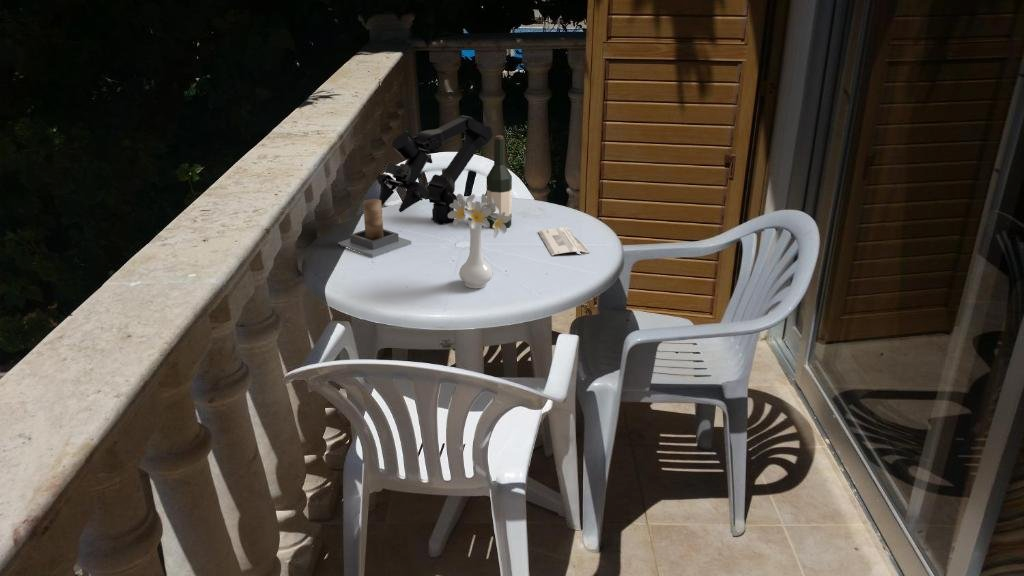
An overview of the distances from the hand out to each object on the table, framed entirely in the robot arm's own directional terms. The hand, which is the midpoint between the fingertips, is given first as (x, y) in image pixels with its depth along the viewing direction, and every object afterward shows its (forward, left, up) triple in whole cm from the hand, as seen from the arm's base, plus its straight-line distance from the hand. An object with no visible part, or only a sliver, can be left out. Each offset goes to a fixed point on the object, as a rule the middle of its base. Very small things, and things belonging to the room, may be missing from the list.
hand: (389, 208), depth 254 cm
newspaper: (-43, +33, -11) cm, 56 cm away
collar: (+7, +2, -10) cm, 12 cm away
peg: (+6, +2, -9) cm, 11 cm away
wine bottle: (-36, +8, -10) cm, 39 cm away
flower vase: (-2, +47, -10) cm, 48 cm away
